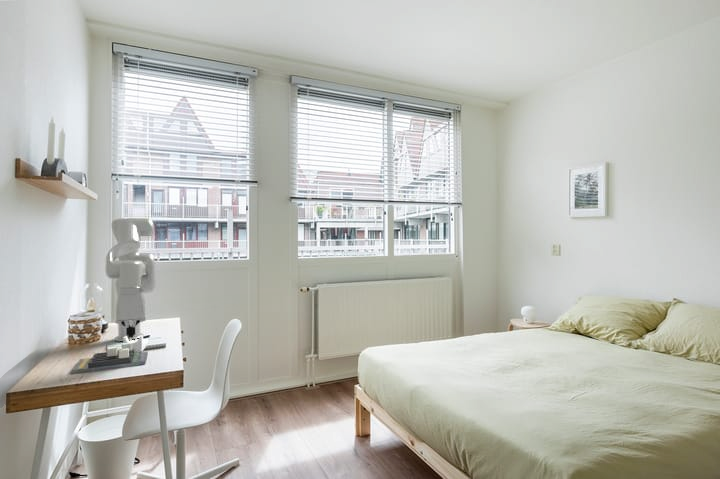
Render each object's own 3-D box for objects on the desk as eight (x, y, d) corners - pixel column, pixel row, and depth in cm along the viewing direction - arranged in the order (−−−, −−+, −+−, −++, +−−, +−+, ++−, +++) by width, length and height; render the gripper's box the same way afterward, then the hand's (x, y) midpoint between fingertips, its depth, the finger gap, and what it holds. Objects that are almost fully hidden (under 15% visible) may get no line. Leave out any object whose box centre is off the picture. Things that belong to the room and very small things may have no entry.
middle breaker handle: (108, 359, 158) (108, 347, 158) (117, 358, 159) (117, 346, 159) (107, 361, 155) (107, 349, 155) (116, 360, 157) (116, 348, 157)
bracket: (141, 353, 171) (141, 336, 171) (123, 355, 169) (123, 337, 169) (148, 346, 183) (148, 329, 183) (131, 347, 181) (131, 331, 181)
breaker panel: (80, 362, 159) (80, 354, 159) (147, 354, 169) (147, 347, 169) (71, 373, 146) (71, 365, 146) (145, 364, 156) (145, 356, 156)
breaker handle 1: (122, 354, 164) (122, 343, 164) (131, 353, 166) (131, 342, 166) (122, 356, 162) (121, 344, 162) (131, 355, 163) (130, 343, 163)
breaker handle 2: (119, 361, 155) (119, 349, 155) (129, 360, 157) (128, 348, 157) (118, 363, 153) (118, 350, 153) (128, 362, 154) (128, 349, 154)
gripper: (151, 289, 166) (152, 333, 166) (110, 292, 160) (110, 337, 160) (150, 291, 160) (151, 336, 159) (107, 293, 153) (107, 341, 153)
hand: (131, 336), depth 160 cm, fingers closed
